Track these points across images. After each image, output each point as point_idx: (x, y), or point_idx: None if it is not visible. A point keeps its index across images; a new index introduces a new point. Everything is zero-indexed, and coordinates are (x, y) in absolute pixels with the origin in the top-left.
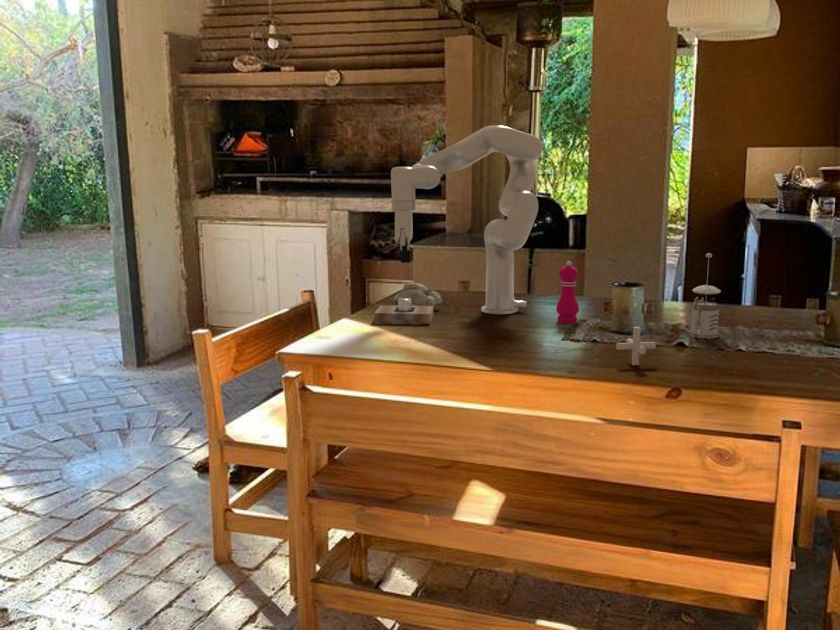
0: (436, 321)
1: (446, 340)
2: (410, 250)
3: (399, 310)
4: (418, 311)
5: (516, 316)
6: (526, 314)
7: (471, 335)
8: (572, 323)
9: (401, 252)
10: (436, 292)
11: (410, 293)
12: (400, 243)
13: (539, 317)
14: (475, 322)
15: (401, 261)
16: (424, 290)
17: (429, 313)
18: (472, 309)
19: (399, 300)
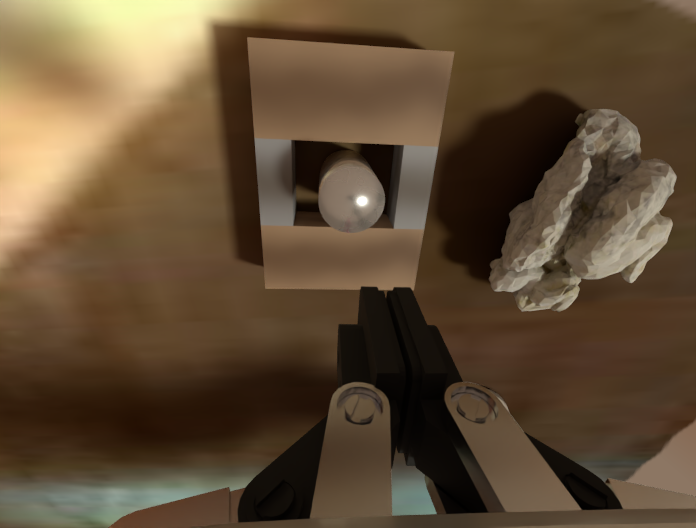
0: None
1: (61, 324)
2: (411, 458)
3: (327, 166)
4: (308, 246)
5: None
6: None
7: (150, 376)
8: None
9: (373, 366)
10: (565, 305)
11: (540, 210)
12: (313, 513)
13: None
14: (317, 377)
15: (360, 296)
16: (572, 269)
17: (273, 286)
18: (495, 365)
19: (327, 177)
